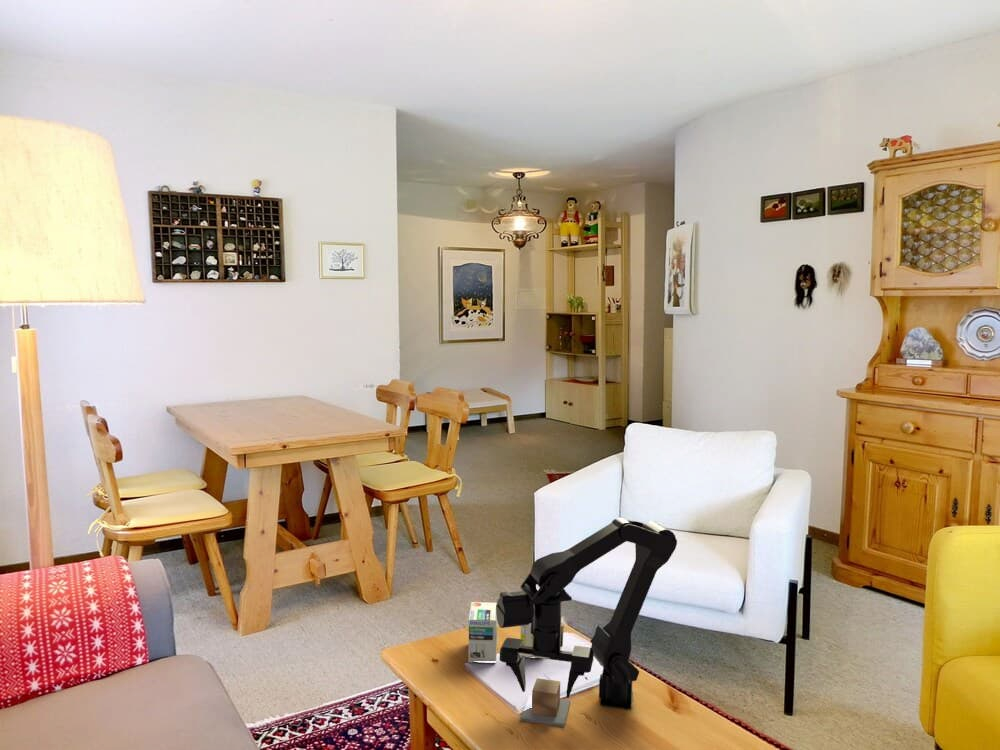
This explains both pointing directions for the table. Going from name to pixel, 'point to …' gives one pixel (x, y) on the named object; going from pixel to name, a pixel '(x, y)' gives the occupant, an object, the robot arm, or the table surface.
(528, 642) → the supplement bottle
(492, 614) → the light bulb box
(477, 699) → the table surface
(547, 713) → the walnut cube
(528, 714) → the rubber mat
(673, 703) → the table surface
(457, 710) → the table surface
